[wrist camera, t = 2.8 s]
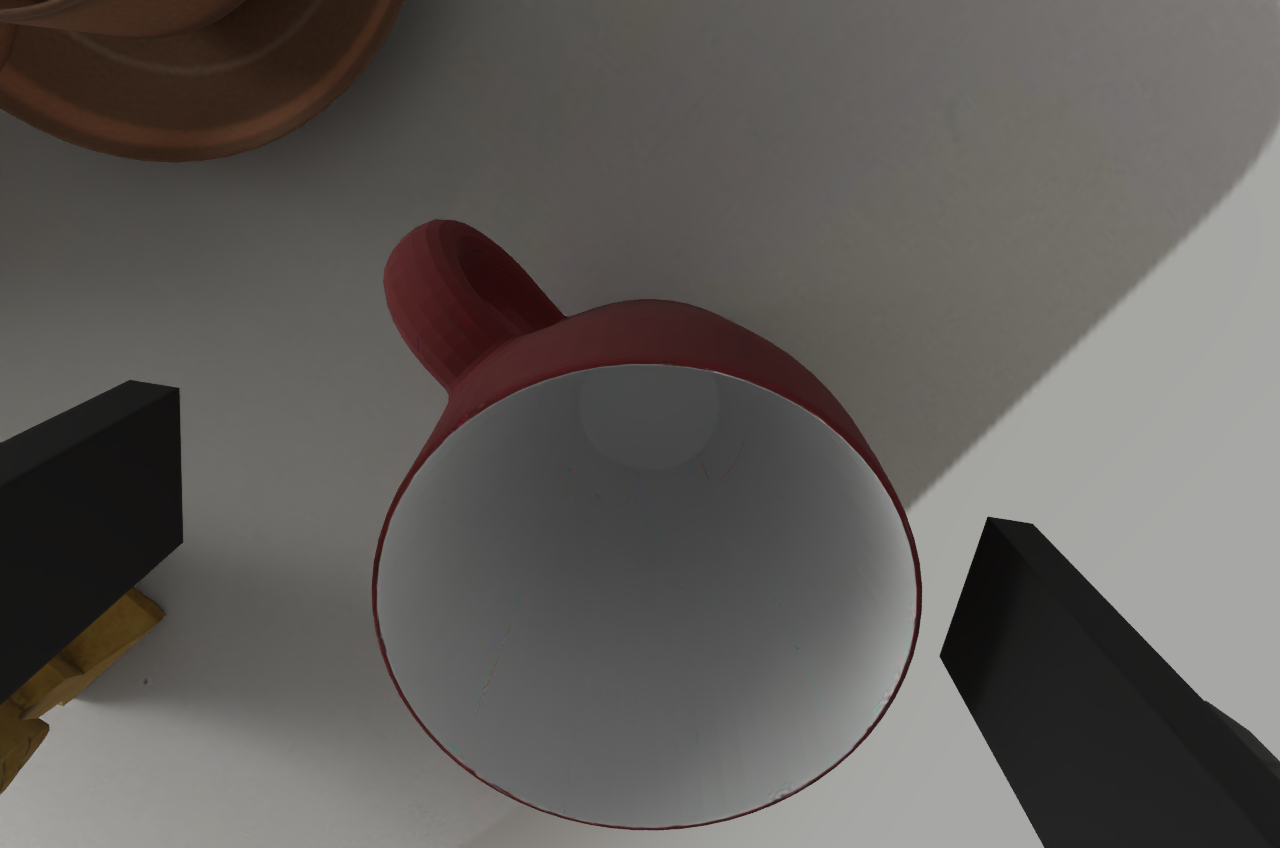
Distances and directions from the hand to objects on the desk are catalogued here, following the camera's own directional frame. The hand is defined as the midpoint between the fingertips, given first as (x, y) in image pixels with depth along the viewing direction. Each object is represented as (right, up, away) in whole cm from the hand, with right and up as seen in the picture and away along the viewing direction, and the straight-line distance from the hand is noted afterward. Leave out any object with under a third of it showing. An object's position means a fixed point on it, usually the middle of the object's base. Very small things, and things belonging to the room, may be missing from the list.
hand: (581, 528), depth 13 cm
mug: (0, +3, +8) cm, 8 cm away
